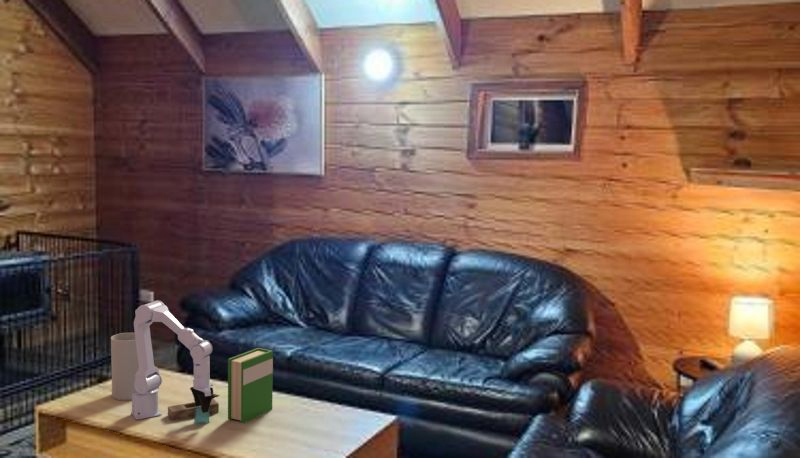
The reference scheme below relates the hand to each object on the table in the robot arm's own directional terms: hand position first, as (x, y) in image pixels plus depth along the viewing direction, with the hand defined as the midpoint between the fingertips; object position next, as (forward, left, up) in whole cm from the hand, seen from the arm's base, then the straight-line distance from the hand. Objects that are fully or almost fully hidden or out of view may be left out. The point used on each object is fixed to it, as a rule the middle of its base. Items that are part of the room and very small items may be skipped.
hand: (201, 408), depth 269 cm
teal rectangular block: (0, 0, -6) cm, 6 cm away
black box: (+10, +25, -6) cm, 27 cm away
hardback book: (+19, -1, -6) cm, 20 cm away
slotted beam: (0, +10, -5) cm, 11 cm away
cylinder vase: (-17, +42, -6) cm, 46 cm away
